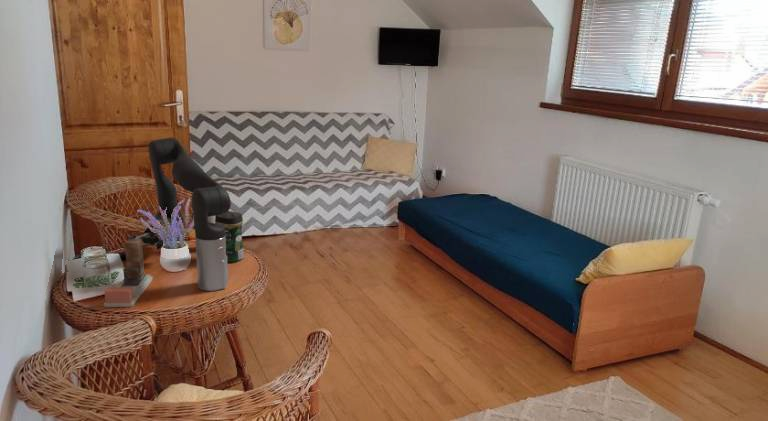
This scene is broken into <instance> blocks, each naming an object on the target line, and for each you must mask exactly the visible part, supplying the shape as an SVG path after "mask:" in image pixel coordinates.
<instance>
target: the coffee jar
mask: <svg viewBox="0 0 768 421" xmlns="http://www.w3.org/2000/svg"><path fill="white" fill-rule="evenodd" d="M243 220H244V219H243V214H242V213H241V212H237V211H231V210H229V211H228V212H226V213H225V214H222V215H216V218H215V224H219V225H222V226H223V227H224V228H225V241H226V255H227V263H235V262H236V263H237V262H239V261H242V260H243V259H244V246H243V234H242V232H243V230H242V228H243V223H244V221H243Z"/></svg>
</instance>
